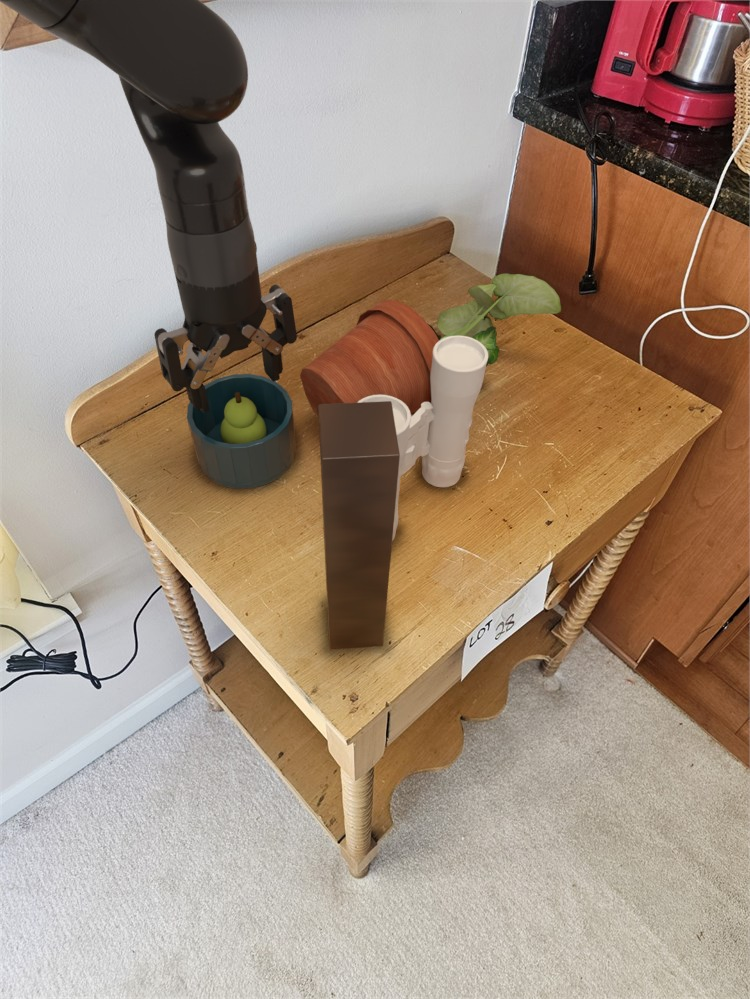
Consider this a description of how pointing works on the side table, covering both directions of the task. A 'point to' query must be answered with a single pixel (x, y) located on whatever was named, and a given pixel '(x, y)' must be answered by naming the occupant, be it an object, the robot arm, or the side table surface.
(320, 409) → the pedestal
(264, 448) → the teal bowl
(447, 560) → the side table surface
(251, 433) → the pear
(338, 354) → the potted plant
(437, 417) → the binoculars
